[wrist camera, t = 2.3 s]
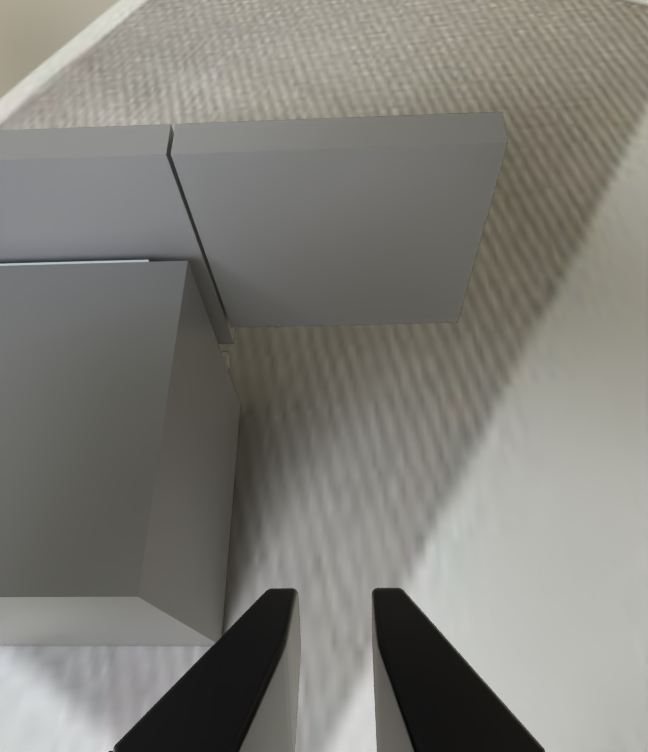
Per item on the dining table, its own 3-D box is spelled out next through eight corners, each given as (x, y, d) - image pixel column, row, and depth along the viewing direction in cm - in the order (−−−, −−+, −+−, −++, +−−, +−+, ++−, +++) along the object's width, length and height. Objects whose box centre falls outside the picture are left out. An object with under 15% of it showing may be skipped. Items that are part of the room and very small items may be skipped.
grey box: (220, 645, 18) (119, 585, 10) (-41, 645, 19) (-328, 587, 11) (242, 390, 23) (180, 212, 15) (28, 393, 23) (-141, 221, 15)
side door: (453, 338, 20) (508, 142, 13) (-18, 348, 20) (-219, 168, 13) (450, 314, 20) (502, 111, 13) (-11, 325, 21) (-203, 137, 14)
